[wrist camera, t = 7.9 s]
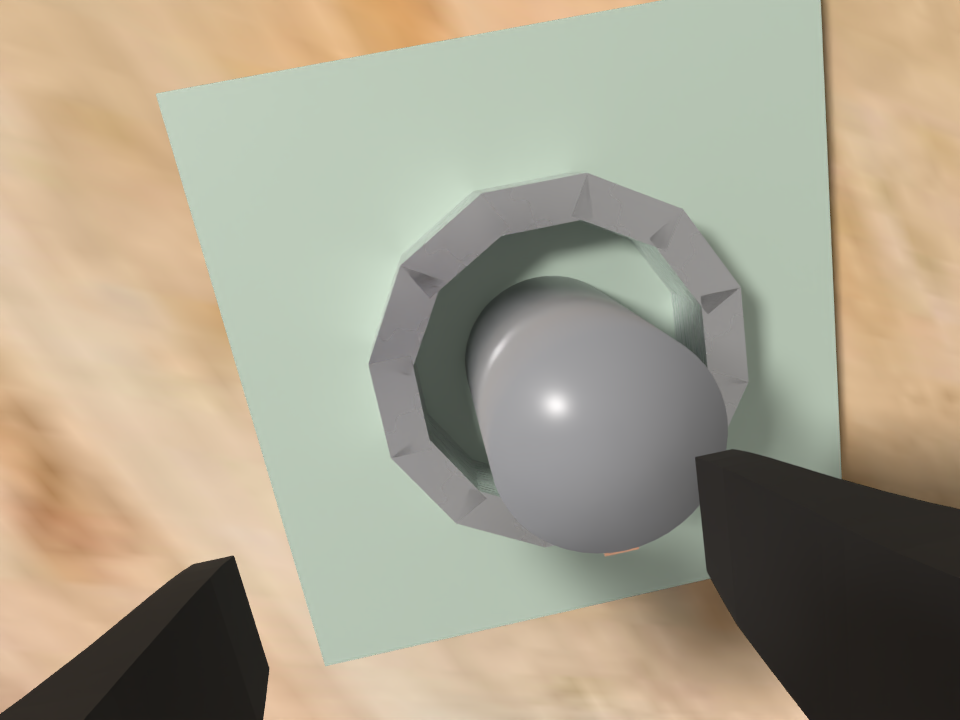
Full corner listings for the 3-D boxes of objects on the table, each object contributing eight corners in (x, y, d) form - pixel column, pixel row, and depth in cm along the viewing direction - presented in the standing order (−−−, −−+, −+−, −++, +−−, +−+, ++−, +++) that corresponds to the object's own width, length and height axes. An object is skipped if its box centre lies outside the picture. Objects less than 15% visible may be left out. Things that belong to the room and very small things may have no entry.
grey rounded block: (618, 259, 18) (716, 302, 12) (641, 428, 19) (738, 538, 14) (449, 295, 18) (467, 355, 12) (484, 462, 19) (515, 589, 13)
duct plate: (825, 531, 22) (844, 548, 21) (328, 643, 21) (325, 666, 20) (796, -18, 18) (819, -29, 17) (169, 97, 17) (155, 93, 16)
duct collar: (724, 468, 20) (758, 500, 18) (417, 535, 20) (419, 575, 18) (694, 147, 18) (729, 144, 16) (342, 216, 17) (333, 221, 15)
